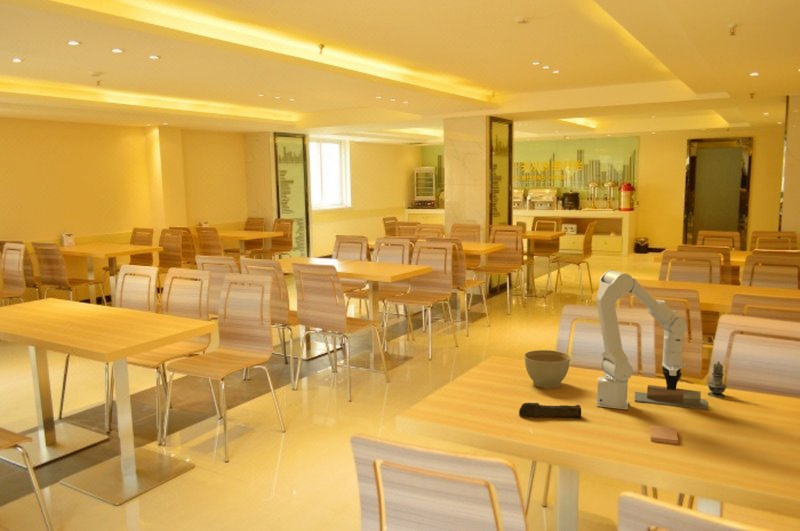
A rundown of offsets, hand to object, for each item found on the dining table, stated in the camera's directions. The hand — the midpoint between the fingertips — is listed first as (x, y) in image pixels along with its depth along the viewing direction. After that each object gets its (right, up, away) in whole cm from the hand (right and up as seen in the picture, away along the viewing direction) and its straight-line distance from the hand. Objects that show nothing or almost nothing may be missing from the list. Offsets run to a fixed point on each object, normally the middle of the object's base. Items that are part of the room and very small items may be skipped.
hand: (670, 390), depth 203 cm
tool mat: (0, -4, 0) cm, 4 cm away
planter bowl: (-37, -2, +18) cm, 41 cm away
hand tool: (-43, -6, -13) cm, 46 cm away
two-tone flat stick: (0, -3, -1) cm, 3 cm away
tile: (-13, -6, -24) cm, 28 cm away
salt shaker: (+18, -3, +6) cm, 19 cm away
